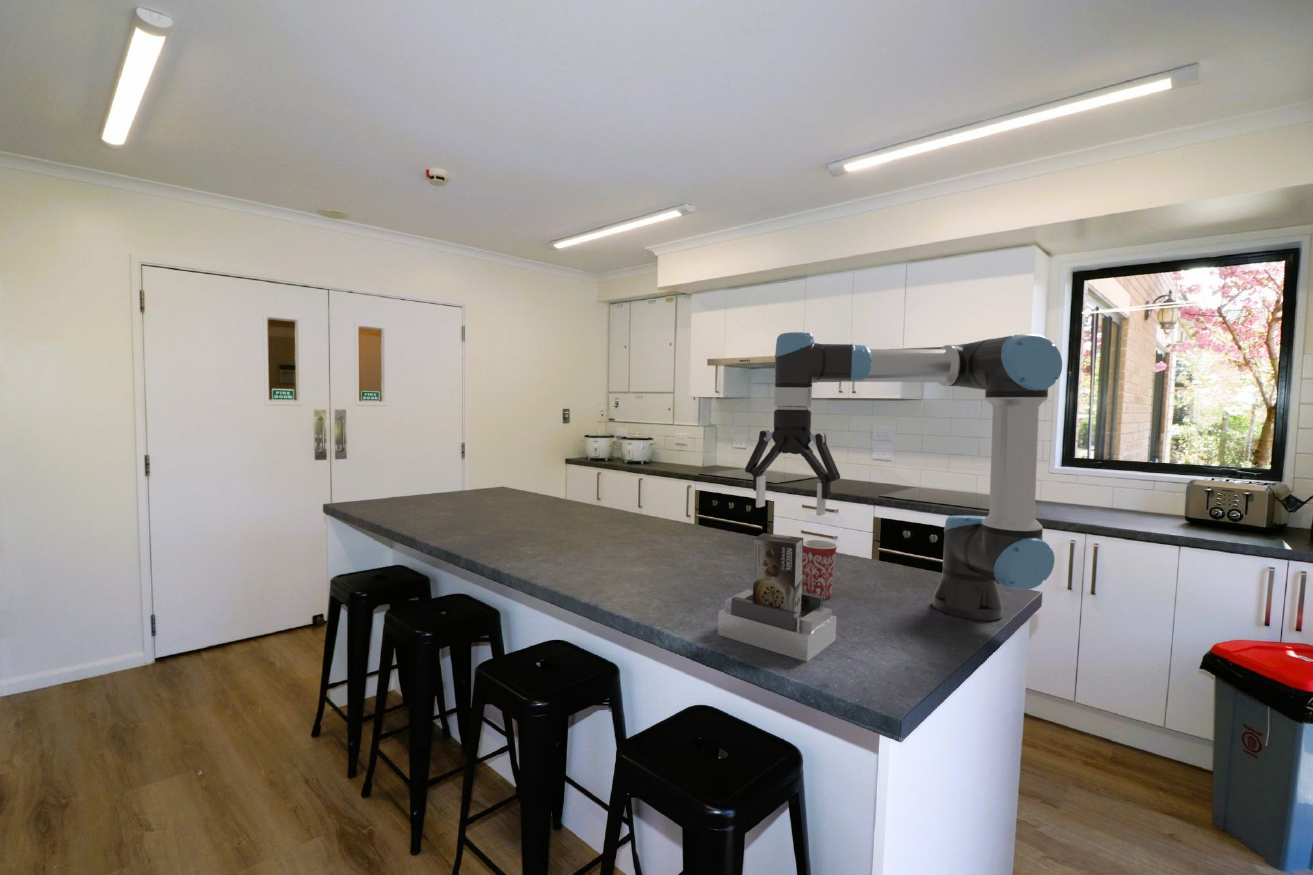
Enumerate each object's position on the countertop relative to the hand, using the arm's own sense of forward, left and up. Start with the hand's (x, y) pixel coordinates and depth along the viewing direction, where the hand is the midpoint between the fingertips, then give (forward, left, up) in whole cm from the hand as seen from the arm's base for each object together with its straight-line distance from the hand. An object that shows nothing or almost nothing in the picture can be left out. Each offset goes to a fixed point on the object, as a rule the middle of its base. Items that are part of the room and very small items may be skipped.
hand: (789, 510), depth 128 cm
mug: (+6, -32, -27) cm, 42 cm away
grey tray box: (+1, +2, -27) cm, 27 cm away
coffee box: (+1, +2, -22) cm, 22 cm away
